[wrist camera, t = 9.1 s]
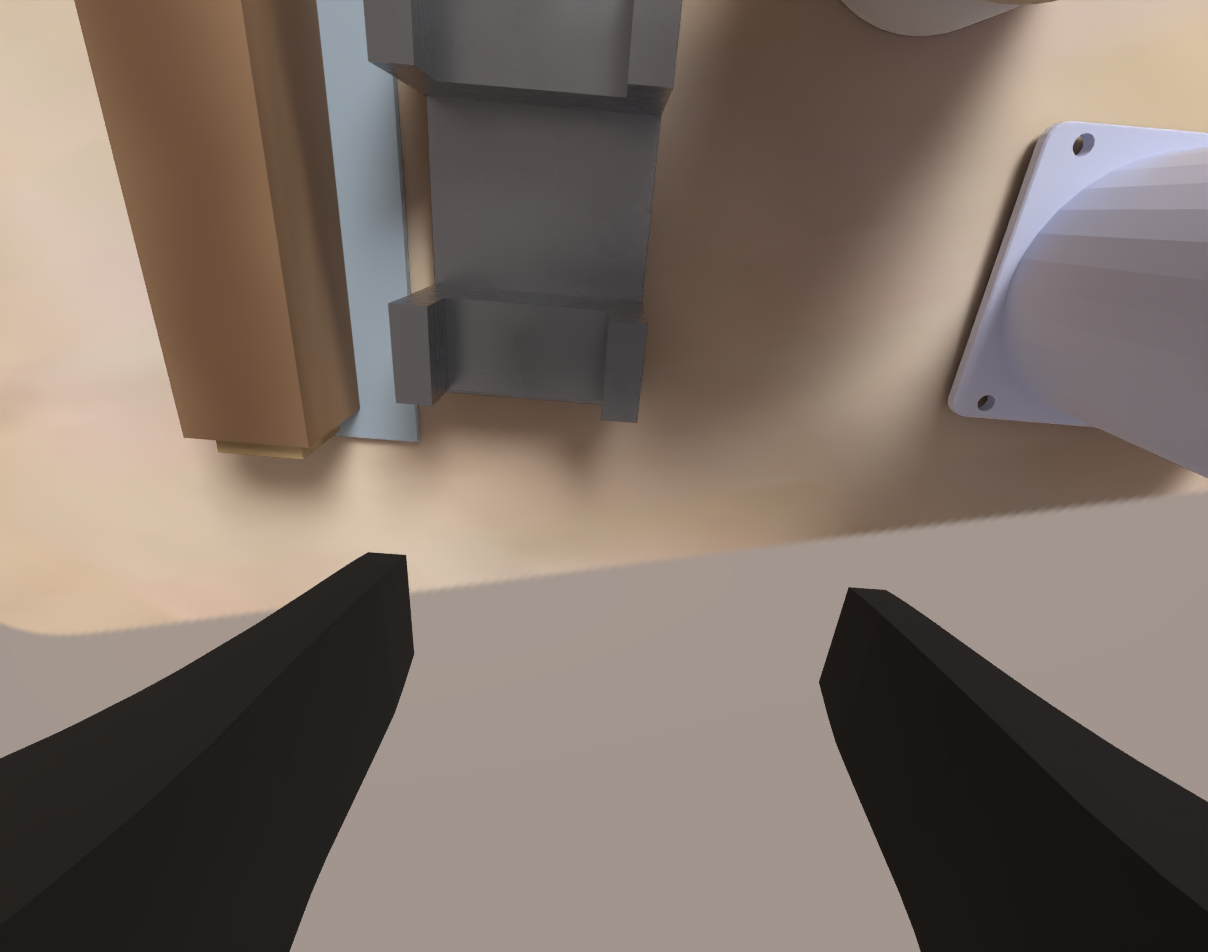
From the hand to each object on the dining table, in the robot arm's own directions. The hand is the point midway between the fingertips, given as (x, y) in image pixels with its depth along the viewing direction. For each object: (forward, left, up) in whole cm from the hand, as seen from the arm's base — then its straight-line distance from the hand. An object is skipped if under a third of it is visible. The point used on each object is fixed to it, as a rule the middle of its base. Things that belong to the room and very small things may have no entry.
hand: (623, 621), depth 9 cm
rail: (+10, -6, -10) cm, 15 cm away
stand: (+3, -6, -10) cm, 12 cm away
